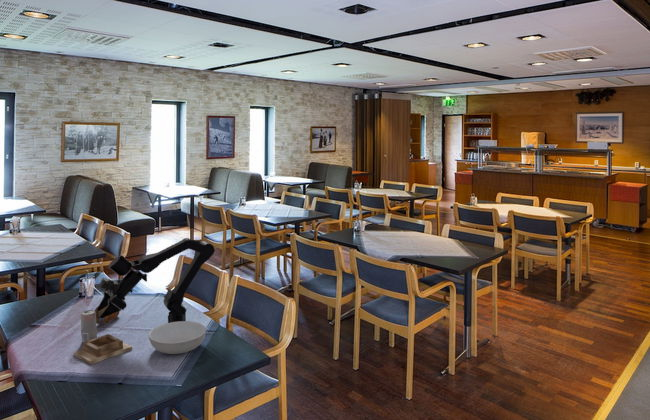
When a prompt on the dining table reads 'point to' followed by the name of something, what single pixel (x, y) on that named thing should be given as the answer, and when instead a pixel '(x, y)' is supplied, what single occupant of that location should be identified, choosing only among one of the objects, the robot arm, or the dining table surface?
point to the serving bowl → (177, 337)
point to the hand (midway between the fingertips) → (99, 313)
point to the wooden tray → (101, 349)
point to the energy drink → (88, 325)
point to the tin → (105, 319)
